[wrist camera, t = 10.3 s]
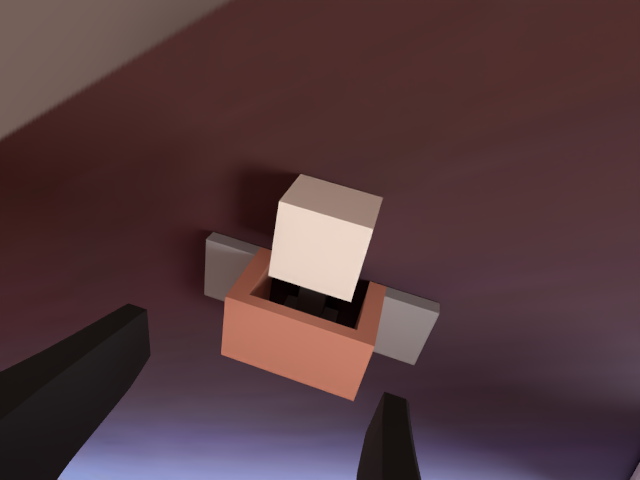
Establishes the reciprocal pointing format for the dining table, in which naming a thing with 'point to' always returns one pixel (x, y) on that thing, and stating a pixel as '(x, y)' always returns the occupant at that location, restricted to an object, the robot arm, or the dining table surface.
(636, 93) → the dining table surface
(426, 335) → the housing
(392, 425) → the robot arm
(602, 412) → the dining table surface
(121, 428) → the dining table surface
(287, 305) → the plug
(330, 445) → the dining table surface
